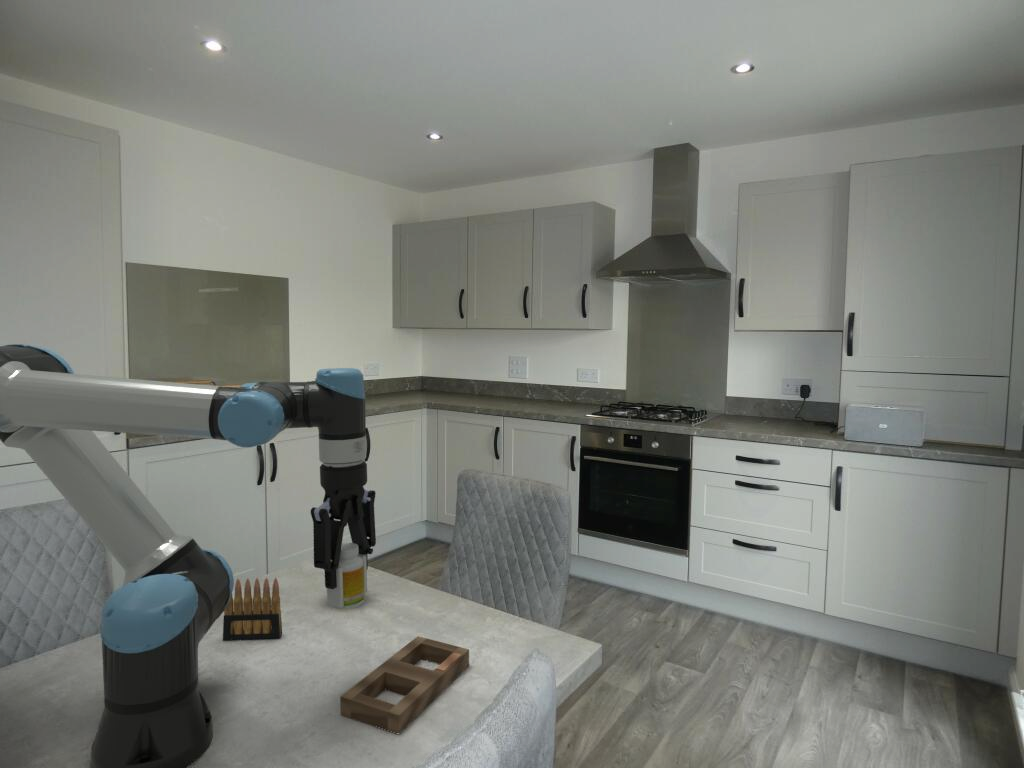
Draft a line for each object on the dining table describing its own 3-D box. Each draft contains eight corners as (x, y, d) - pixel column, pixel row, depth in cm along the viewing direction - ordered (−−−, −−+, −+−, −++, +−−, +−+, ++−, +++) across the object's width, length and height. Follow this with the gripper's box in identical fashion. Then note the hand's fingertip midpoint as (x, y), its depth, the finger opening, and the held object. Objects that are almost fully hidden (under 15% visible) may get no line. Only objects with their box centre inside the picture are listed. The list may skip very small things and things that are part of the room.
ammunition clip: (282, 634, 124) (281, 575, 123) (280, 639, 122) (279, 579, 121) (225, 636, 123) (224, 577, 122) (222, 641, 121) (221, 580, 120)
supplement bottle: (370, 598, 107) (368, 542, 107) (353, 611, 102) (352, 553, 101) (342, 594, 109) (340, 540, 108) (324, 607, 104) (322, 550, 103)
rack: (398, 734, 94) (398, 714, 94) (340, 714, 99) (340, 695, 99) (468, 665, 114) (469, 648, 114) (417, 651, 119) (417, 635, 118)
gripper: (322, 476, 94) (327, 626, 96) (395, 453, 110) (398, 581, 112) (284, 471, 97) (290, 617, 99) (361, 450, 113) (364, 575, 115)
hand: (347, 598), depth 105 cm, fingers closed on supplement bottle, 5 cm apart
